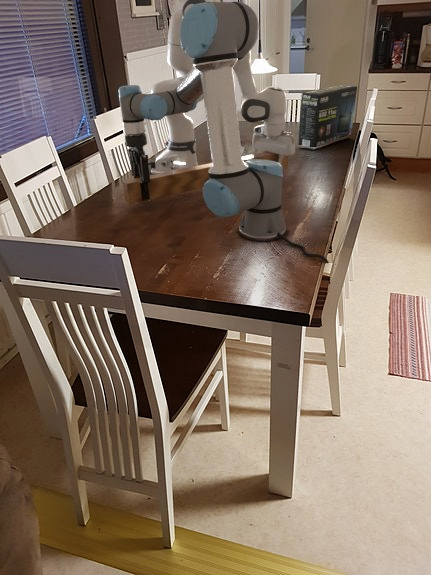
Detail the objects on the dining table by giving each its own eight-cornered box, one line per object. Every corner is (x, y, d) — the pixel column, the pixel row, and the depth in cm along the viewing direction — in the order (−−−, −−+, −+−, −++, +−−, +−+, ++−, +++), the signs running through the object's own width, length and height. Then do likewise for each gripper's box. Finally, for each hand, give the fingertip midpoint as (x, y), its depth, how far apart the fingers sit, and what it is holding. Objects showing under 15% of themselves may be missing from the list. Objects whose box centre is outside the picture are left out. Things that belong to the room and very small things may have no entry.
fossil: (256, 156, 213) (234, 135, 216) (244, 175, 219) (223, 154, 222) (274, 153, 226) (253, 134, 229) (261, 171, 233) (241, 152, 236)
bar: (129, 204, 168) (127, 183, 164) (125, 201, 171) (122, 180, 167) (287, 168, 199) (288, 150, 195) (281, 166, 202) (281, 148, 198)
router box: (314, 151, 231) (318, 94, 217) (296, 148, 237) (299, 92, 224) (352, 138, 251) (358, 85, 238) (335, 135, 258) (340, 83, 245)
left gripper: (299, 131, 184) (297, 165, 192) (259, 124, 197) (258, 157, 204) (290, 134, 181) (288, 169, 188) (250, 127, 193) (249, 160, 200)
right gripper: (155, 136, 155) (162, 202, 167) (135, 128, 168) (143, 189, 180) (134, 139, 152) (143, 206, 163) (116, 131, 165) (125, 193, 177)
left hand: (272, 162), depth 196 cm, fingers closed on bar, 5 cm apart
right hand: (143, 197), depth 172 cm, fingers closed on bar, 5 cm apart
